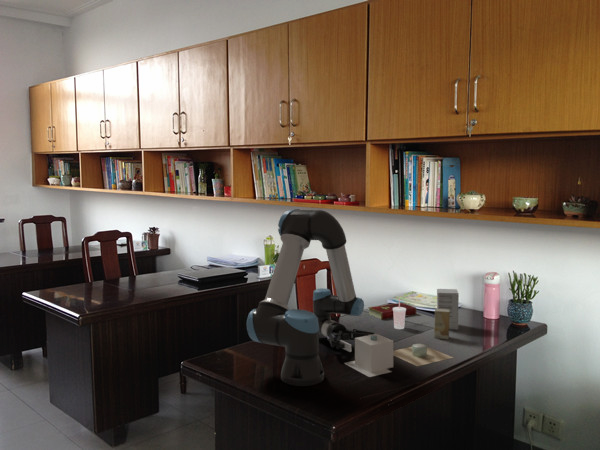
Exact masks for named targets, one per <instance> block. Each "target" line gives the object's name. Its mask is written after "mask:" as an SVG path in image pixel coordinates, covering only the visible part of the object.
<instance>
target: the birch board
mask: <svg viewBox="0 0 600 450" xmlns="http://www.w3.org/2000/svg"><path fill="white" fill-rule="evenodd" d="M393 357H396V358H398V359H401V360H403V361H405V362H407V363H409V364H411V365H413V366H415V367H421V366H424V365H429V364H433V363H436V362H441V361H445V360H446V361H447V360H449V359H454V357H453V356H450V355H448V354H445V353H443V352H441V351H438V350H436V349H434V348H431V347H429V346H427V356H426V357H415V356H413V355H412V346H409V347H404V348H400V349H396V350H394V349H393Z"/></svg>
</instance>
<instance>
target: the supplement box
mask: <svg viewBox="0 0 600 450" xmlns="http://www.w3.org/2000/svg"><path fill="white" fill-rule="evenodd" d="M459 295H460V294H459V291H458V289H457V288H436V309H448V310H450V317H449V330H459Z"/></svg>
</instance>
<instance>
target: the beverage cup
mask: <svg viewBox="0 0 600 450" xmlns="http://www.w3.org/2000/svg"><path fill="white" fill-rule="evenodd" d="M398 303H399V307H394V308H393V315H394V318H393V329H395V330H403V329H405V324H406V323H405V321H406V316H405V311H406V308H403V307H400V303H401V298H400V297H398Z"/></svg>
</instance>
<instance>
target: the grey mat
mask: <svg viewBox="0 0 600 450" xmlns="http://www.w3.org/2000/svg"><path fill="white" fill-rule="evenodd" d="M343 364H344V365H346V366H348V367H350V368H352V369H353V370H355V371H357V372H359V373H360V374H362V375H365V376H366V377H368V378H372V377H376V376H380V375H384V374H389V373H392V372H393V370H390V369H389V368H387V369H385V370H380V371H376V372H372V373H371V372H369V371H367V370H365V369H363V368H361V367H359V366H358V365H356V364H355V360H352V361H347V362H343Z"/></svg>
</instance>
